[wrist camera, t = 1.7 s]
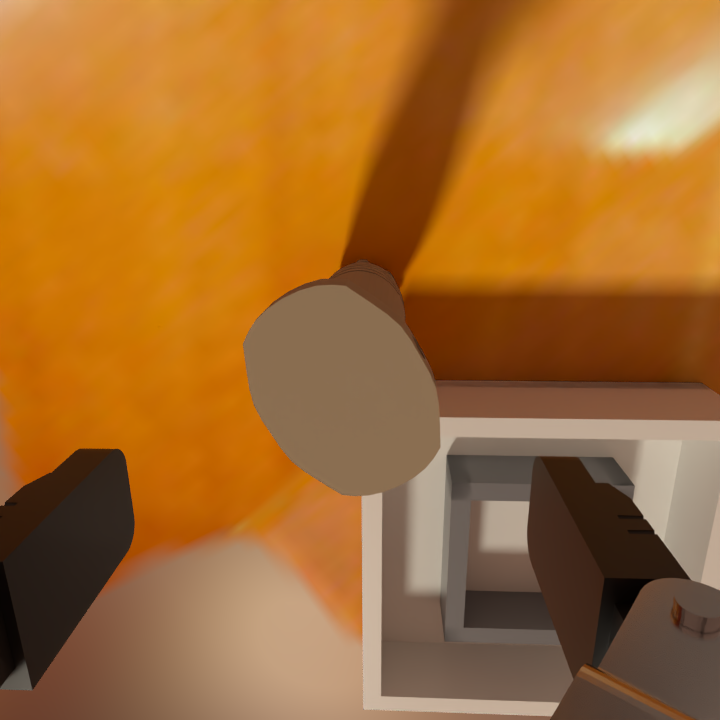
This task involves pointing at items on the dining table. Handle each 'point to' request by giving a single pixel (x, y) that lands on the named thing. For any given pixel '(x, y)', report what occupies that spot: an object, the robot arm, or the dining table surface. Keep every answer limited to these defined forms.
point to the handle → (345, 382)
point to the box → (519, 534)
